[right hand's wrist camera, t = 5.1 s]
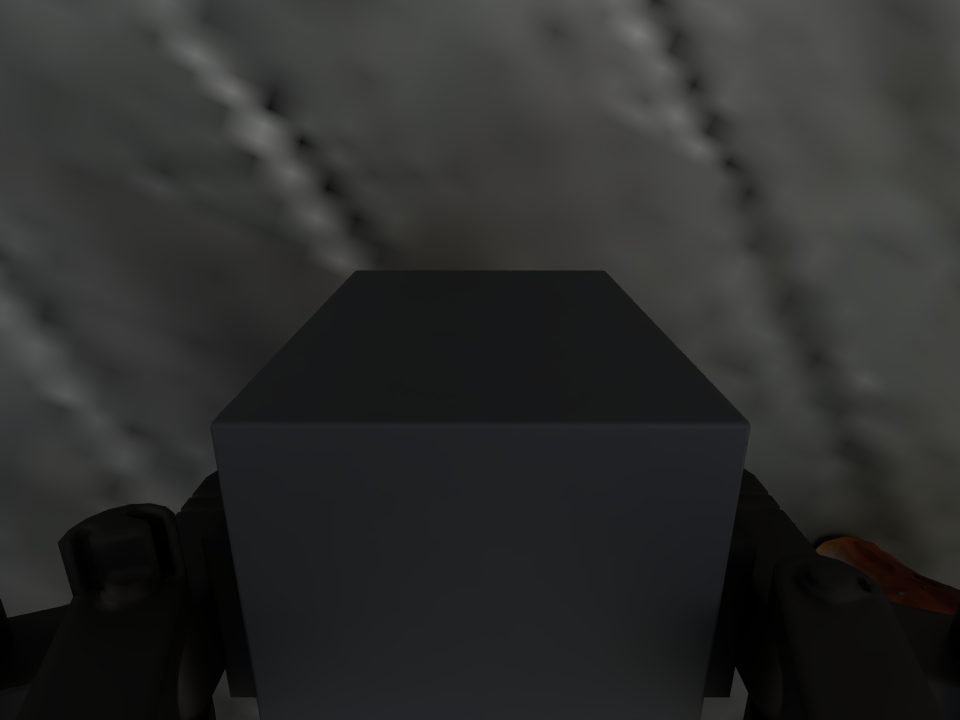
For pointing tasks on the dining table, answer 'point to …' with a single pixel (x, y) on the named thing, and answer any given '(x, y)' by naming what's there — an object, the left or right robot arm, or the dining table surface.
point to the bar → (480, 505)
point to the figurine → (893, 575)
